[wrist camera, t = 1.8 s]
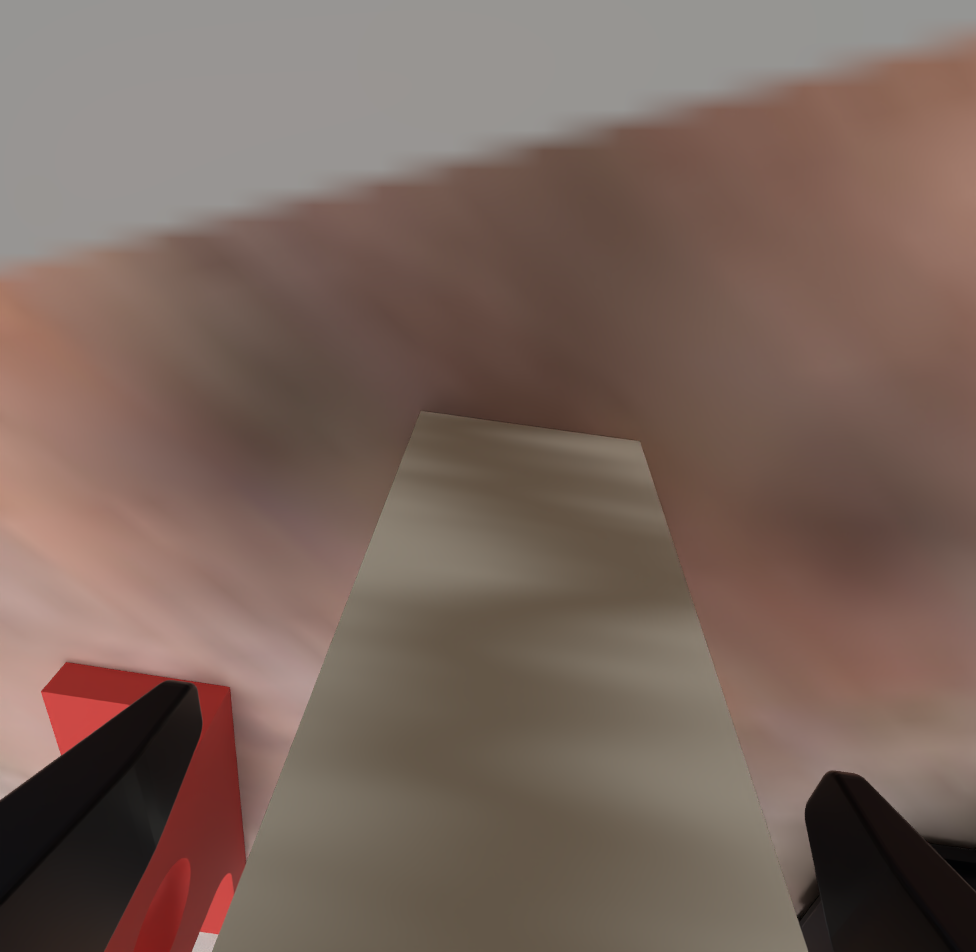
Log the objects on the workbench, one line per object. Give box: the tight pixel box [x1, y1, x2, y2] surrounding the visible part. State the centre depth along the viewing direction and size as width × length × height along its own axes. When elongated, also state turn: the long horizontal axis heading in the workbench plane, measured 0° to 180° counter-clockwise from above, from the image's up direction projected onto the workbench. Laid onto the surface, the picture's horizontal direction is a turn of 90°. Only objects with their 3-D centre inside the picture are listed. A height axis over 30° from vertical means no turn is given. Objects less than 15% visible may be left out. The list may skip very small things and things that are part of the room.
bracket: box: [41, 662, 246, 952], centre depth 17 cm, size 12×4×8 cm, turn 172°
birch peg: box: [212, 411, 808, 952], centre depth 9 cm, size 4×4×10 cm
